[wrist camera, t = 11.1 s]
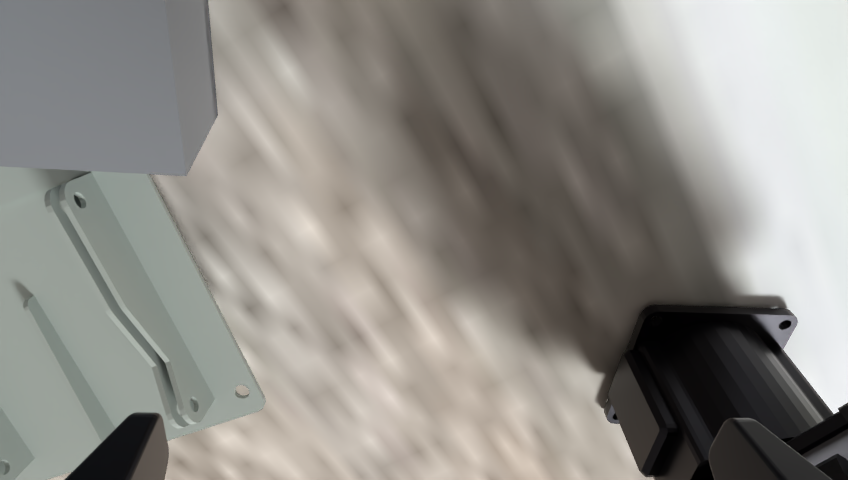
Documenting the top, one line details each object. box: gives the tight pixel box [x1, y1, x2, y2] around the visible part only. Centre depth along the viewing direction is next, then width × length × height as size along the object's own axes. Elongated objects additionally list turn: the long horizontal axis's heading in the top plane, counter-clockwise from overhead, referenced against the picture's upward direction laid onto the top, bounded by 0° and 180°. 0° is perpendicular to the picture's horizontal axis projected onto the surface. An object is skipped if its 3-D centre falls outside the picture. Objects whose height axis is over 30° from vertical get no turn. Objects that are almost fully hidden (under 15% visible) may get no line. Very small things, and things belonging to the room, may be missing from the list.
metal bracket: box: [0, 166, 266, 480], centre depth 22 cm, size 14×6×15 cm
